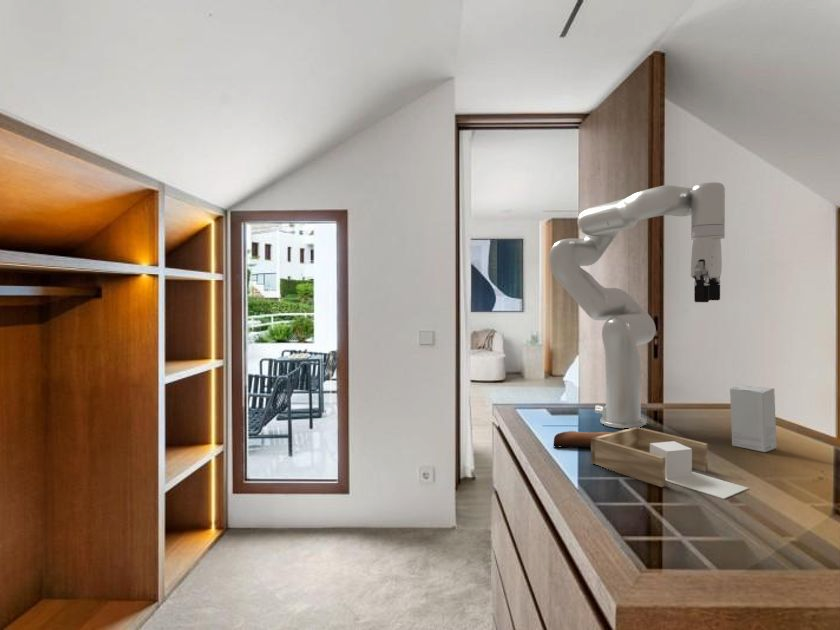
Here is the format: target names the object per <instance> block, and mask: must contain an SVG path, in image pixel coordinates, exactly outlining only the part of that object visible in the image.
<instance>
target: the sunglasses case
mask: <svg viewBox="0 0 840 630" xmlns="http://www.w3.org/2000/svg"><path fill="white" fill-rule="evenodd" d="M610 433H613V432H611V431H600V432H599V431H598V432H591V431H587V432H584V431H583V432H581V431H577V430H571V431H570V430H569V431H562V432H559V433H557V434H555V435H554V438H553V447H554V446H561V447H560V448H571V447H573V448H575V447H583V448H586V447H588V448H591V438H594V437H598V436H602V435H606V434H610Z"/></svg>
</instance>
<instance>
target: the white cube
mask: <svg viewBox="0 0 840 630" xmlns="http://www.w3.org/2000/svg"><path fill="white" fill-rule="evenodd" d="M650 453H652V454H656V455H660V456H663V457H665V479H673V478H682V477H691V476H692V472H693V468H692V449H691V448H689V447H686V446H684V445H682V444H679V443H677V442H675V441H670V442H660V443H650Z"/></svg>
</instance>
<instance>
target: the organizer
mask: <svg viewBox="0 0 840 630" xmlns="http://www.w3.org/2000/svg"><path fill="white" fill-rule="evenodd" d="M670 441H675V442H677V443H679V444H682V445H684V446H686V447H689V448H691V449H692V470H693V469H694V470H696V471H697V470H698V471H701V472H703V473H704V472H708V470H709V467H708V465H709V461H708V459H709V443H706V442H702V441H698V440H694V439H690V438H685V437H682V436H681V437H680V436H677V435H673V434H669V433H665V432H661V431H657V430H652V429H648V428H644V427H641V428H640V427H633V428H629V429H622V430H618V431H614V432H612V433H610V434H606V435H602V436H598V437H594V438H591V447H590V464H591V463H593V464H596V465H599V466H601V467H600V468H602V467H604V468H603V469H605V468H606V470H608V469H609V470H608V471H611V470H612V472H614V471H615V472H614V473H618V474H620V475H623V476H625V477H626V476H627V477H630V478H633V479H635V480H639V481H643V482H645V483H648V484H651V485H653V486H657V487H660V488H664V487H666V481H665V457H663V456H660V455H656V454H652V453H650V443H660V442H670ZM593 464H592V465H593ZM596 465H595V466H596ZM599 466H598V467H599Z"/></svg>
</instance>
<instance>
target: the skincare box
mask: <svg viewBox="0 0 840 630" xmlns="http://www.w3.org/2000/svg"><path fill="white" fill-rule="evenodd" d="M729 393H730V394H729V397H730V398H729V399H730V401H729V402H730V422H731V423H730V424H731V445H732V446H733V447H737V448H743V449H748V450H753V451H757V452H762V453H767V452H769V451H773V450H776V449H777V422H776V419H777V418H776V402H775V401H776V397H775V388H773V387H761V386H752V385H745V384H741V385H737V386H734V387H731V388H729ZM732 446H731V447H732Z"/></svg>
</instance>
